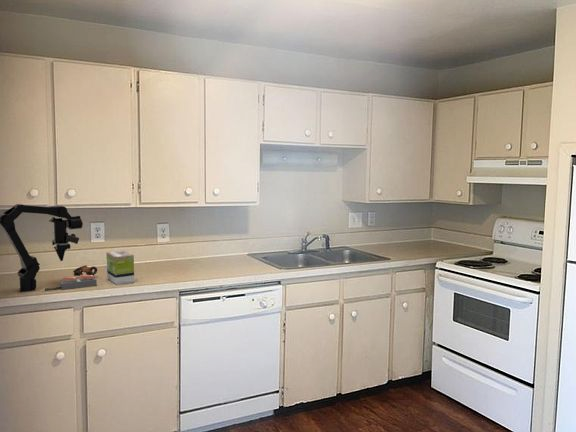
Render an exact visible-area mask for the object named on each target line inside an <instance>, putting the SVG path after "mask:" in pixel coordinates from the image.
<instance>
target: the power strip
mask: <svg viewBox="0 0 576 432" xmlns="http://www.w3.org/2000/svg"><path fill="white" fill-rule="evenodd" d="M97 283H98V282H97V279H96V278H95V277H94V278H86V279H84V278H77V280H60V281H59V286H55V287H47V288H44V291H45V292H46V291H53V290H60V289H61V291H65V290H73V289H81V288H89V287H90V288H91V287H97V286H98V284H97Z"/></svg>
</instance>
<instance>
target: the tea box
mask: <svg viewBox="0 0 576 432" xmlns="http://www.w3.org/2000/svg"><path fill="white" fill-rule="evenodd" d="M134 255H135V254H131V253H130V252H128V251H125V250H119V251H111V252H106V272H107V273H106V274H107V276H106V277H107V280H109V281H111V282H112V283H113V284H115V285H122V284H130V283H134V282H135V264H134V263H135V262H134V261H135V256H134Z"/></svg>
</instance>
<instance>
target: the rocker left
mask: <svg viewBox="0 0 576 432" xmlns="http://www.w3.org/2000/svg"><path fill="white" fill-rule="evenodd" d="M77 279H78V278H77V276H74V277H73V276H63V275H62V281H68V280H77Z"/></svg>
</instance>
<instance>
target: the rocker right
mask: <svg viewBox="0 0 576 432" xmlns="http://www.w3.org/2000/svg"><path fill="white" fill-rule="evenodd" d="M84 278H95V275H94V276H93V275H87V274H83V275H80V276H79V279H84Z"/></svg>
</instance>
